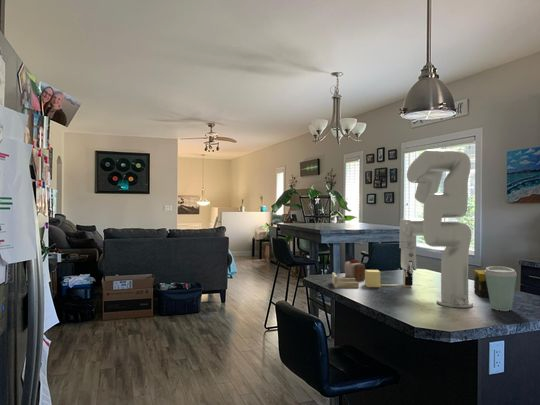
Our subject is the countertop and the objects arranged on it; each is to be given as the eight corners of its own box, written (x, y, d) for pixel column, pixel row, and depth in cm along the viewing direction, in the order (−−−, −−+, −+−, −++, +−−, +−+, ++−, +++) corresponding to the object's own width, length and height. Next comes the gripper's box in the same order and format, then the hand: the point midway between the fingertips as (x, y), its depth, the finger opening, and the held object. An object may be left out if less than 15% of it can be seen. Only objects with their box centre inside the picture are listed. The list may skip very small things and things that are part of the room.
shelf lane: (358, 288, 183) (358, 277, 183) (334, 287, 184) (334, 276, 184) (355, 283, 194) (355, 272, 194) (332, 282, 195) (332, 272, 195)
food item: (342, 276, 213) (342, 258, 213) (356, 276, 215) (356, 257, 215) (353, 281, 200) (353, 261, 200) (367, 280, 201) (367, 261, 202)
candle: (499, 293, 173) (499, 270, 173) (506, 299, 163) (506, 274, 163) (473, 292, 176) (473, 269, 176) (479, 297, 166) (479, 273, 166)
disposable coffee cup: (522, 313, 141) (522, 271, 141) (488, 311, 143) (488, 269, 143) (511, 306, 151) (511, 266, 151) (480, 304, 153) (480, 265, 153)
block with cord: (412, 287, 184) (412, 272, 184) (367, 287, 186) (367, 271, 186) (408, 285, 190) (408, 270, 190) (364, 284, 192) (365, 269, 192)
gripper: (421, 247, 179) (421, 288, 179) (410, 243, 195) (410, 281, 195) (404, 246, 180) (404, 288, 179) (395, 243, 196) (395, 281, 196)
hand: (407, 284), depth 187 cm, fingers closed on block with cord, 3 cm apart
